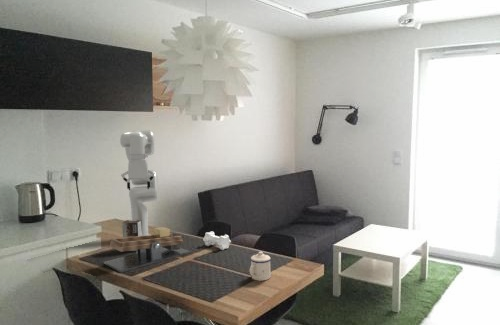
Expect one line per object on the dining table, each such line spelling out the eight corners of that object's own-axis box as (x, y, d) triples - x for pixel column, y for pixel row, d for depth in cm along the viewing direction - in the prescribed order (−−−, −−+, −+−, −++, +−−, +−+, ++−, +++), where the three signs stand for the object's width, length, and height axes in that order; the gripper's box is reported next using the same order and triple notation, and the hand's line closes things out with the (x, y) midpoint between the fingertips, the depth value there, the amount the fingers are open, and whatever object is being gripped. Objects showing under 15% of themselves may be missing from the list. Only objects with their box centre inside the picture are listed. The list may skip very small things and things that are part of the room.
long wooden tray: (170, 244, 227) (171, 232, 227) (183, 249, 218) (183, 236, 218) (109, 252, 202) (110, 238, 202) (120, 258, 193) (121, 243, 193)
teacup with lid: (259, 272, 189) (258, 247, 188) (275, 276, 183) (274, 251, 182) (242, 280, 179) (242, 254, 178) (258, 284, 174) (258, 258, 173)
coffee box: (143, 247, 229) (142, 219, 228) (139, 251, 223) (137, 222, 221) (127, 247, 230) (126, 219, 229) (123, 251, 224) (121, 222, 222)
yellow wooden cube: (153, 239, 216) (154, 228, 216) (163, 238, 220) (163, 227, 220) (159, 241, 211) (160, 230, 211) (169, 240, 216) (170, 229, 216)
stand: (103, 263, 204) (102, 244, 203) (171, 246, 232) (170, 228, 231) (121, 272, 190) (120, 252, 189) (190, 253, 218) (190, 235, 217)
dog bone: (231, 249, 227) (231, 234, 226) (220, 251, 220) (220, 236, 220) (213, 244, 237) (213, 230, 236) (201, 246, 230) (202, 231, 230)
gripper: (154, 156, 220) (155, 187, 221) (120, 157, 215) (122, 189, 217) (154, 157, 213) (155, 189, 214) (120, 158, 208) (121, 191, 210)
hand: (138, 189), depth 215 cm, fingers open, 9 cm apart
